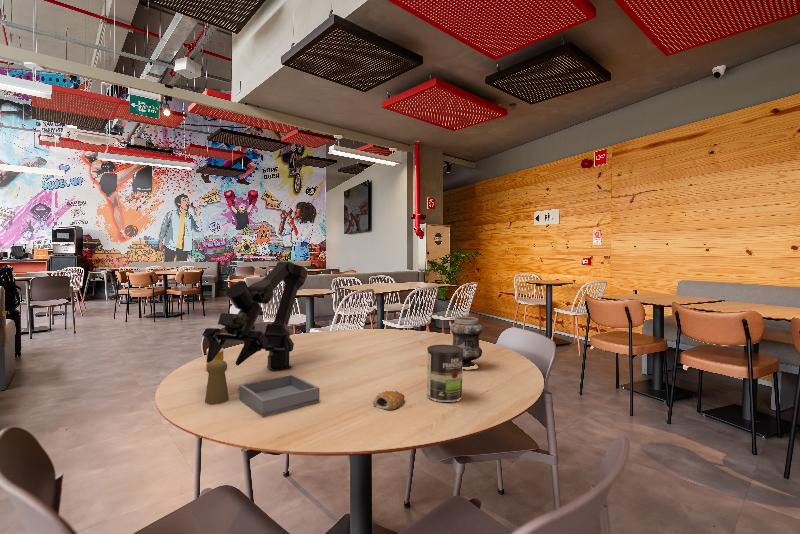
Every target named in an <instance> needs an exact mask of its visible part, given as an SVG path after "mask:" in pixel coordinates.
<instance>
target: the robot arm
mask: <svg viewBox="0 0 800 534" xmlns="http://www.w3.org/2000/svg"><path fill="white" fill-rule="evenodd" d="M307 277H308V270H307V268H306V267H305V266H304V265H299V264H296V263H294V262H292V261H278V262H277V263H276V265H275V266H274V268H272V270H270V271H269V273H268V274H267V275H265V277H264V278H262V279H261V280H258V281H256V282H253V283H252V284H250V285H249V286H248V285H247V282H246V281H245V280H238V281H237V283H234V284H233V285H231V286H229V287H228V288H227V289H226V292H225V294H226V296H227V297H228V299H229V301H230V303H232V304H233V306H234V308H236V309H238V310H239V311H238V313H230V312H229V313H226V312H221V313H220V315H219V318H218V321H217V325H221V326H223V327H224V328H223V329H224V331H225V333H224V332H222V330H221V329H220V328H218V327H217V328H215V327H207V328H205V329H204V331H203V332H202V334H201V335H202V336H203V337H204V339H205V340H206V341H207V342H208V348H209V349H208V348H207V349H208V356H207V362H208V363H209V362H211V361H212V360H213V359H214V358H215V356H216V355H217V354H218V353H219V351H220V350H221V349H222V348H223V345H224V344H225V343H226V341H229V342H240V343H241V342H242V343H243V347H242V348H241V350H240V352H239V354H238V356H237V358H236V361H235V363H234V364H235V365H236V367H237V366H240V365H242V363H243V362H245V361H246V360H247V359H249V358H250V357H251V356H253V355H254V354H256V353H257V352H261V351H262V350H265V352H268V355H267V365H266V367H267V368H268V369H270V370H271V371H274V372H275V371H282V370H287V369H291V368H292V366H291V365H290V352H293V350H294V346H295V344H294V341H293V340H292V338H291V331H290V328H289V323H290V318H291V315H292V312H293V308H294V304H295V302H296V301H295V300H296V297H297V293H298V290H299V289H300V288H301V287H302V286H303V285H304V284H305V282H306V279H307ZM282 281H283V283H284V287H283V291H282V294H281V297H280V300H279V304H278V307H277V311H276V315H275V318H274V321H273V322H272V323H267V325H266V326H265V331H264V332H263V331H262V330H255V329H256V326H255V323H256V322H257V319H258V318H259V316H260V317H261V316H262V317H263V316H264V311H263V307H262V306H261V305H260V304H265V305H267V304H269V303H270V302H271V300H272V299H273V297H274V295H275V293H274V290H275V289H276V288H277V287H278V285H280V284H281V282H282ZM226 332H227V333H226Z"/></svg>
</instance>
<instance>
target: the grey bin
mask: <svg viewBox="0 0 800 534" xmlns="http://www.w3.org/2000/svg"><path fill="white" fill-rule="evenodd" d="M238 391H239V394H238V396H239V398H238V399H239V401H241V402H242V403H244V405H246V406H248V407H249V408H250V409H252V411H254V412H256V413H257V414H258V415H259V416H261V418H264V417H268V416H269V417H270V416H273V415H276V414H280V413H283V412H287V411H291V410H295V409H299V408H301V407H302V408H303V407H306V406H310V405H314V404H317V403H320V387H319V386H317V385H315V384H314V383H311V382H309V381H307V380H305V379H302V378H300V377H299V376H297V375H295V374H292V373H291V374H287V375H281V376H277V377H273V378H267V379H262V380H258V381H252V382H248V383H247V382H246V383H242V384H239V387H238Z"/></svg>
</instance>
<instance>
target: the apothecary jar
mask: <svg viewBox="0 0 800 534" xmlns="http://www.w3.org/2000/svg"><path fill="white" fill-rule="evenodd" d="M483 329H484V328H483V326H482V325H481V324H480V322H479V318H477V317H472V316H455V317H454V322H453V323H451V325H450V327H449V330H450V332H451V333H452V345H454V346H458V347H461V348H463V364H462V367H470V366H474V365H475V364H476V363H475V362H473V361H476V360H478V359H480V357H482V355H483V349H482V348H481V347H480V335H481V334H482V333H483Z"/></svg>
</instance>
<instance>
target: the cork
mask: <svg viewBox="0 0 800 534" xmlns="http://www.w3.org/2000/svg"><path fill="white" fill-rule="evenodd" d="M227 369H228V363H227V362H226V361H225V360H224V359H223V360H214V361H211V362H209V363H208V364H207V367H206V372H207V373H208V375H207V382H206V383H207V385H206V391H205V398H204V403H205V404H206V403H207V405H221V404H224V403H227V402H229V399H230V398H229V397H230V396H229V391H228V384H227V377H226V376H227V375H226V371H227Z"/></svg>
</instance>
